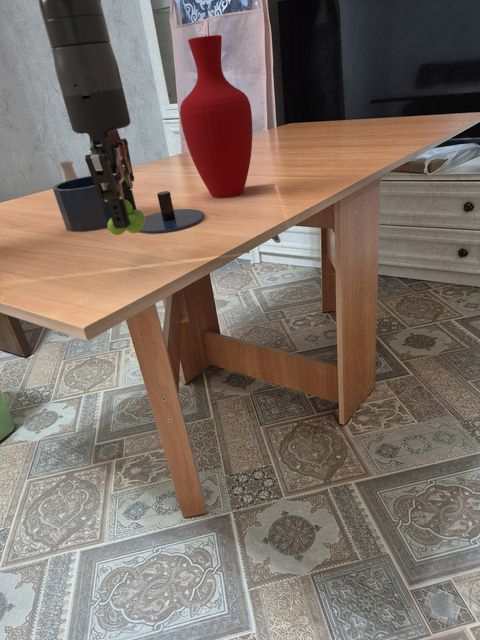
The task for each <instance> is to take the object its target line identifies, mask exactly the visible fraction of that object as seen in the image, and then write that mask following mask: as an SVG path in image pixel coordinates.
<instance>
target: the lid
mask: <svg viewBox="0 0 480 640" xmlns="http://www.w3.org/2000/svg"><path fill="white" fill-rule="evenodd" d="M156 195H157V200H158V204H159V208H160V211H158V212H155V213H152V214H148V215H145V219H146V220H145V224H144V225H143V227H142V229H141V230H140V231H139V232H138V233H142V234H164V233H165V234H166V233H172V232H176V231H180V230H181V231H182V230H185V229H188V228H191V227H193V226H195V225H198V224H200V223H202V222H203V220H205V214H204V212H203V211H202V210H199V209H194V208H177V209H174V206H173V200H172V196H171V192H170V190H164V191H160V192H157V193H156Z"/></svg>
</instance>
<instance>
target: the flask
mask: <svg viewBox="0 0 480 640" xmlns="http://www.w3.org/2000/svg"><path fill="white" fill-rule="evenodd" d="M57 164H58V166H59V168H60V169H61V172H62V179H63V182H65V181H68V180H72V179H76V178H79V177H78V175H77V173H76V171H75V168H74V165H73V164H74V161H73V160H63V161H60V162H58V163H57Z"/></svg>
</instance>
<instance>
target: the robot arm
mask: <svg viewBox="0 0 480 640" xmlns="http://www.w3.org/2000/svg"><path fill="white" fill-rule="evenodd" d="M38 6H39V11H40V15H41V18H42V21H43V25H44V28H45V31H46V35H47V38H48V39H47V40H48V42H49V46H50V48H51V54H52V59H53V66H54V70H55V74H56V75H55V76H56V78H57V81H58V84H59V85H58V86H59V88H60V92H61V95H62V99H63V102H64V106H65V109H66V113H67V116H68V119H69V123H70V126H71V130H72V131H73V132H74V133H75V134H78V135H79V134H80V135H83V134H87V135H88V137H89V145H90V148H89V154H85V156H84V161H85V163H86V166H87V169H88V171H89V174H90V176H91V177H92V179H93V182H94V185H95V188H96V190H97V193H98V196H99V198H100V200H101V201H102V200H104V201H105V202H107V203H108V207H109V210H110V214H111V218H112V221H113V225H114V227H115V228H126V227H128V226H129V225H130V220H129V216H128V212H127V208H126V204H125V200H127V201H129V202H130V203H131V205H132V207H133V210H138V209H137V205H136V201H135V196H134V193H133V189H134V182H135V175H134V173H133V167H132V161H131V155H130V150H129V142H128V140H127V138H126V137H125V138H121V136H120V133H119V130H120V129H124V128H127V127H129V126H130V125H131V118H130V112H129V108H128V103H127V99H126V95H125V91H124V87H123V86H124V85H123V82H122V77H121V73H120V68H119V64H118V62H117V59H116V55H115V53H114V50H113V46H112V43H111V39H110V34H109V29H108V26H107V21H106V17H105V13H104V9H103V5H102V0H38ZM108 184H110V186H111V189H110V190H108V186H107V185H108ZM124 199H125V200H124Z"/></svg>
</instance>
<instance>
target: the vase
mask: <svg viewBox="0 0 480 640" xmlns="http://www.w3.org/2000/svg"><path fill="white" fill-rule="evenodd" d="M222 41H223V36H222V35H220V34H212V35H203V36H197V37H192V38H189V39H188V40H187V43H188V45H189V49H190V51H191V54H192V57H193V61H194V63H195V68H196V74H197V76H196V77H197V78H196V82H195V85H194V86H193V88H192V90H191V91H190V93H188V94H187V96H185V98H183V100H182V101H181V104H180V107H179V118H180V124H181V128H182V133H183V136H184V139H185V143H186V146H187V149H188V151H189V154H190V157H191V159H192V162H193V164H194V166H195V169H196V171H197V172H198V175H199V176H200V178H201V180H202V182H203V184H204V185H205V187H206V189H207V190H208V192H209V194H210V196H211V197H212V198H214V199H228V198H229V199H230V198H235V197H238V196H241V195H242V194H243V193H244V192H245V188H246V183H247V181H248V179H247V178H248V175H249V170H250V166H251V165H250V164H251V159H252V151H253V113H252V106H251V103H250V100H249V97H248V96H247V95H246V93H245V92H244V91H242V90H241V89H238V87H235V86H234V85H233V84H231V83H230V82H229V80H228V79H227V78H226V77H225V75H224V72H223V67H222V45H223V44H222Z"/></svg>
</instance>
